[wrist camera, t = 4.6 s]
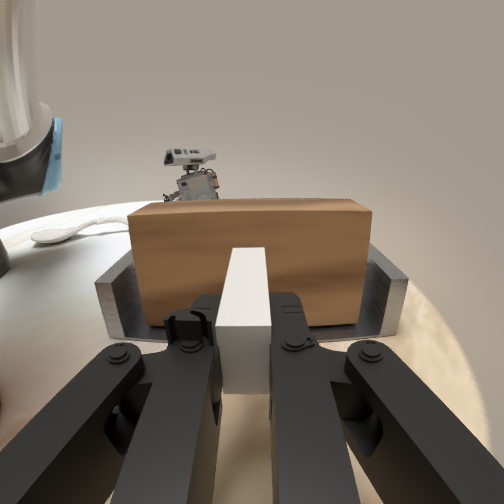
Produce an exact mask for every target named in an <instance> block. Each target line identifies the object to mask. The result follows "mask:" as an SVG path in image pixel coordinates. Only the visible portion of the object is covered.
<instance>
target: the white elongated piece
mask: <svg viewBox="0 0 504 504" xmlns="http://www.w3.org/2000/svg"><path fill="white" fill-rule="evenodd" d="M114 222H115V223H123V224H126V225H128V220H127V219H124V218H120V217H109V218H100V219H95V220H91V221H88V222H86V223H84V224H82V225H80V226H78V227H73V228H67V229H55V230H44V231H39V232H36V233H33V234H32V235H31V240H32V241H35V242H39V243H47V244H53V243H58V242H61V241H64V240H66V239H68V238H69V237H71V236H73V235H74V234H76V233H78V232H79V231H81V230H83V229H85V228H87V227H89V226H92V225H100V224H106V223H114Z"/></svg>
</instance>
